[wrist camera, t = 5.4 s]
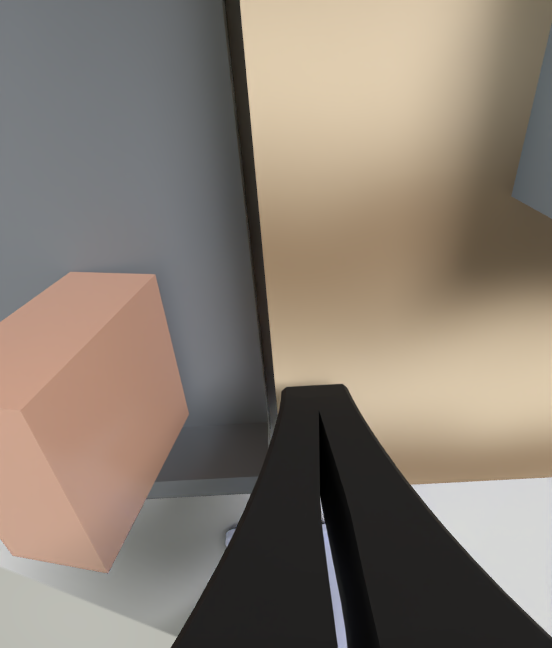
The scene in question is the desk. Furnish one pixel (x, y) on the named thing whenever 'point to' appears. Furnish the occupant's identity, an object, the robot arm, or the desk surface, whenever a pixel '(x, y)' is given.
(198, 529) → the desk surface
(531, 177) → the light blue square block
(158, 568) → the desk surface
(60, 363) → the terracotta tile
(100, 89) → the tray
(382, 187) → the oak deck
